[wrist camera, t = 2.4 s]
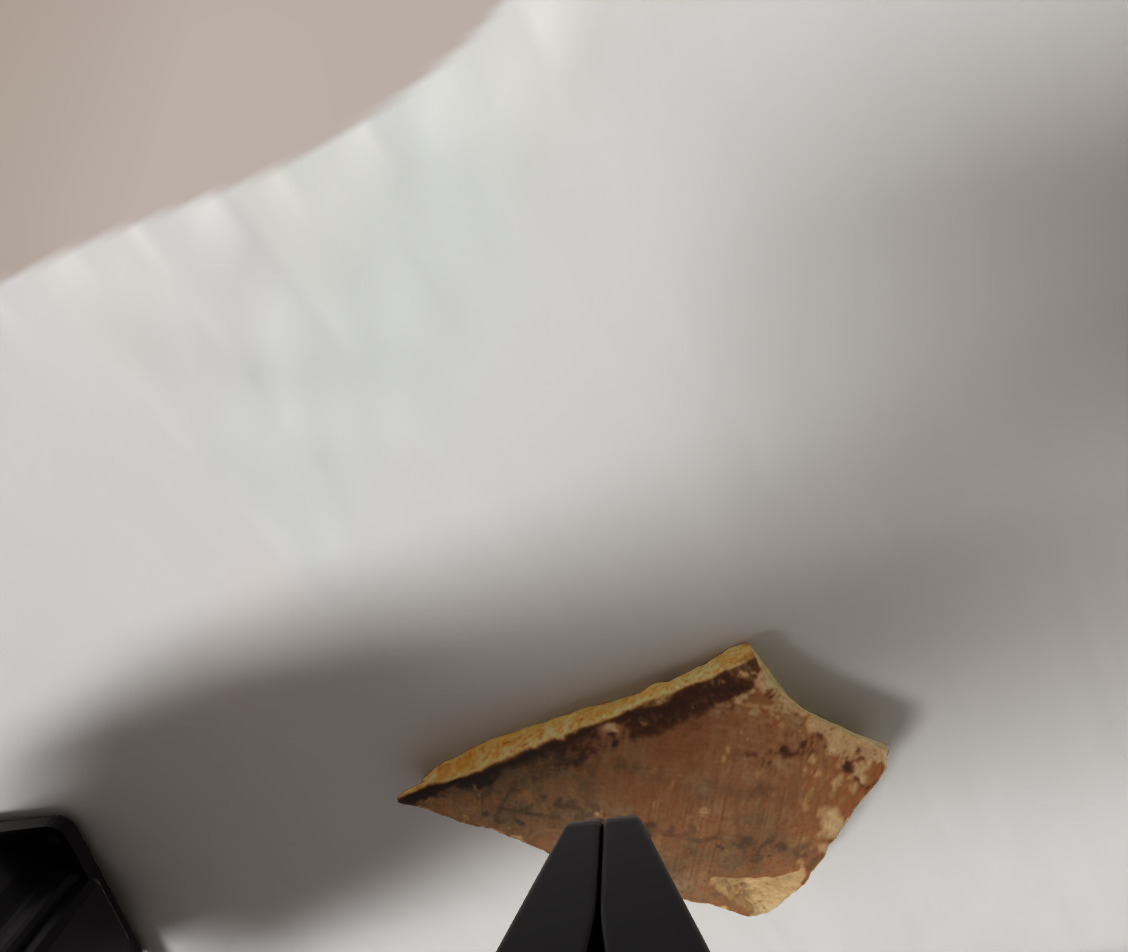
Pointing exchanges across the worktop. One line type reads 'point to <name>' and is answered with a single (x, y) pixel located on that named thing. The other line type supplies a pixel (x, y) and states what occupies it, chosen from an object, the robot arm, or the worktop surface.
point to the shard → (678, 780)
